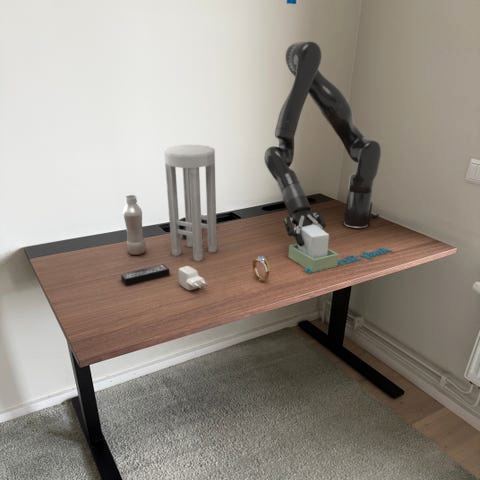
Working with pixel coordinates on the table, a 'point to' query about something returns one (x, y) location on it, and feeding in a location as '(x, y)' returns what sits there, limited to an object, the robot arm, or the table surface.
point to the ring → (266, 266)
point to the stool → (191, 196)
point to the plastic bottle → (134, 226)
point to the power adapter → (190, 278)
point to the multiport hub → (145, 274)
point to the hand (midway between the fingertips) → (312, 243)
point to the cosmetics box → (314, 241)
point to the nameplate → (366, 255)
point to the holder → (311, 263)
